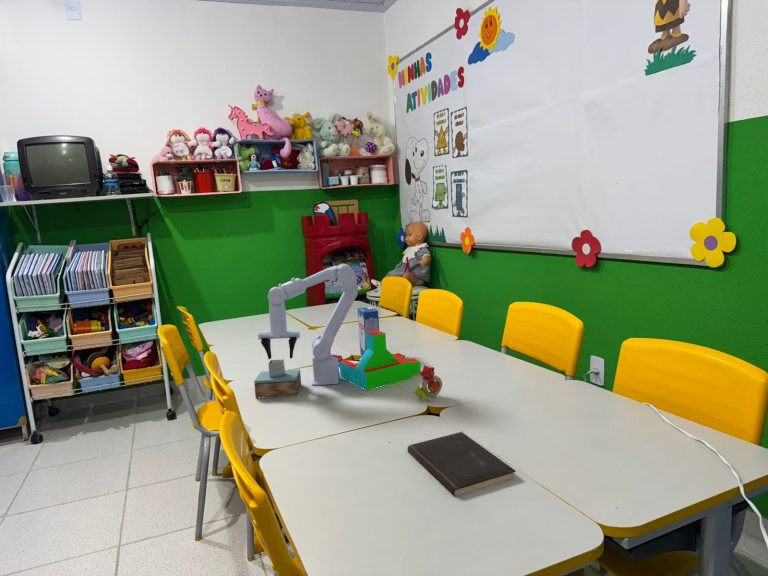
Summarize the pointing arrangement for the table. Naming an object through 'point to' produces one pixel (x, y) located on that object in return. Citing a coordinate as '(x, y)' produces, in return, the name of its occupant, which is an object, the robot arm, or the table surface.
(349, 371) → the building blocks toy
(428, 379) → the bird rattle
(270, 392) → the toy box
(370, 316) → the milk carton
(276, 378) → the lid
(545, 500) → the table surface
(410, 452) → the hardcover book
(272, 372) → the metal weight
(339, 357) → the race car
